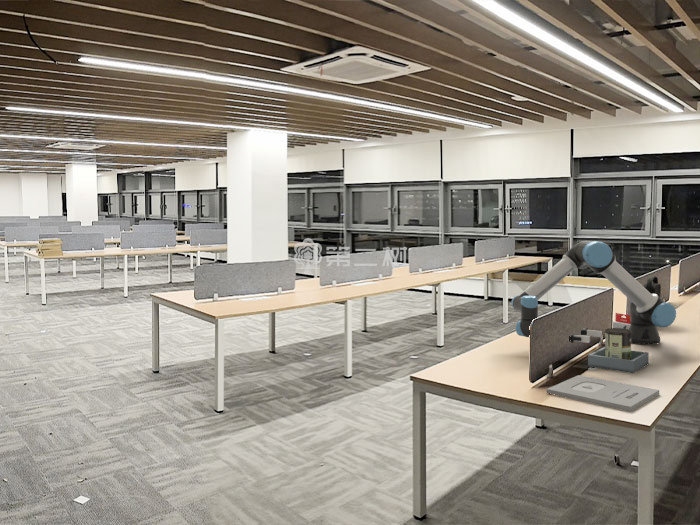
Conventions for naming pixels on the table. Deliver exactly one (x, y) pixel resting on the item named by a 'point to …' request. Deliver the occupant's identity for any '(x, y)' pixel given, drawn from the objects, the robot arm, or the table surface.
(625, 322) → the ink cartridge box
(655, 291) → the shoulder bag
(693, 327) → the table surface
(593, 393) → the award plaque
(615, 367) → the tray
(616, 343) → the coffee can
